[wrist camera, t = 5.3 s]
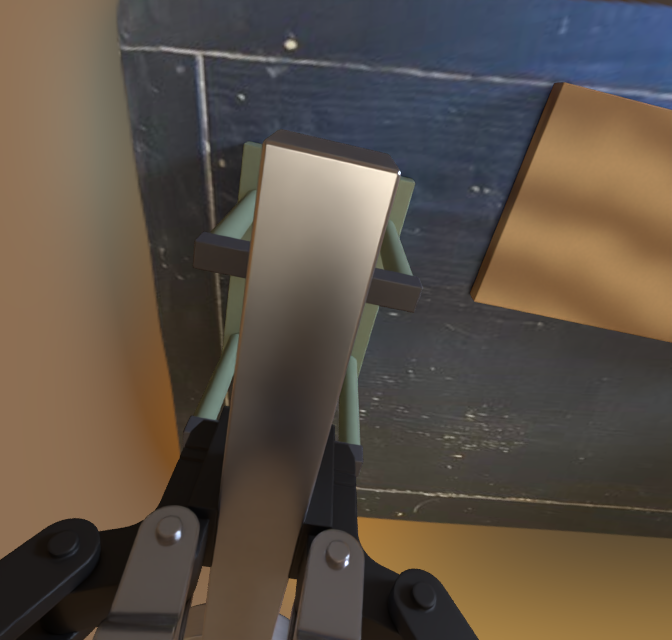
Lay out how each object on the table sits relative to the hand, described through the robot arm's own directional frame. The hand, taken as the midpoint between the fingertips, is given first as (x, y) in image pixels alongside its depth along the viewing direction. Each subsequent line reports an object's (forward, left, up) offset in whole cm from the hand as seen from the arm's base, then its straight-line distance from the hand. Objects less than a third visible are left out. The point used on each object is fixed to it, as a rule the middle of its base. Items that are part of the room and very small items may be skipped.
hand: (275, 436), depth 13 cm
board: (-6, +22, -17) cm, 28 cm away
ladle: (+3, 0, +1) cm, 3 cm away
